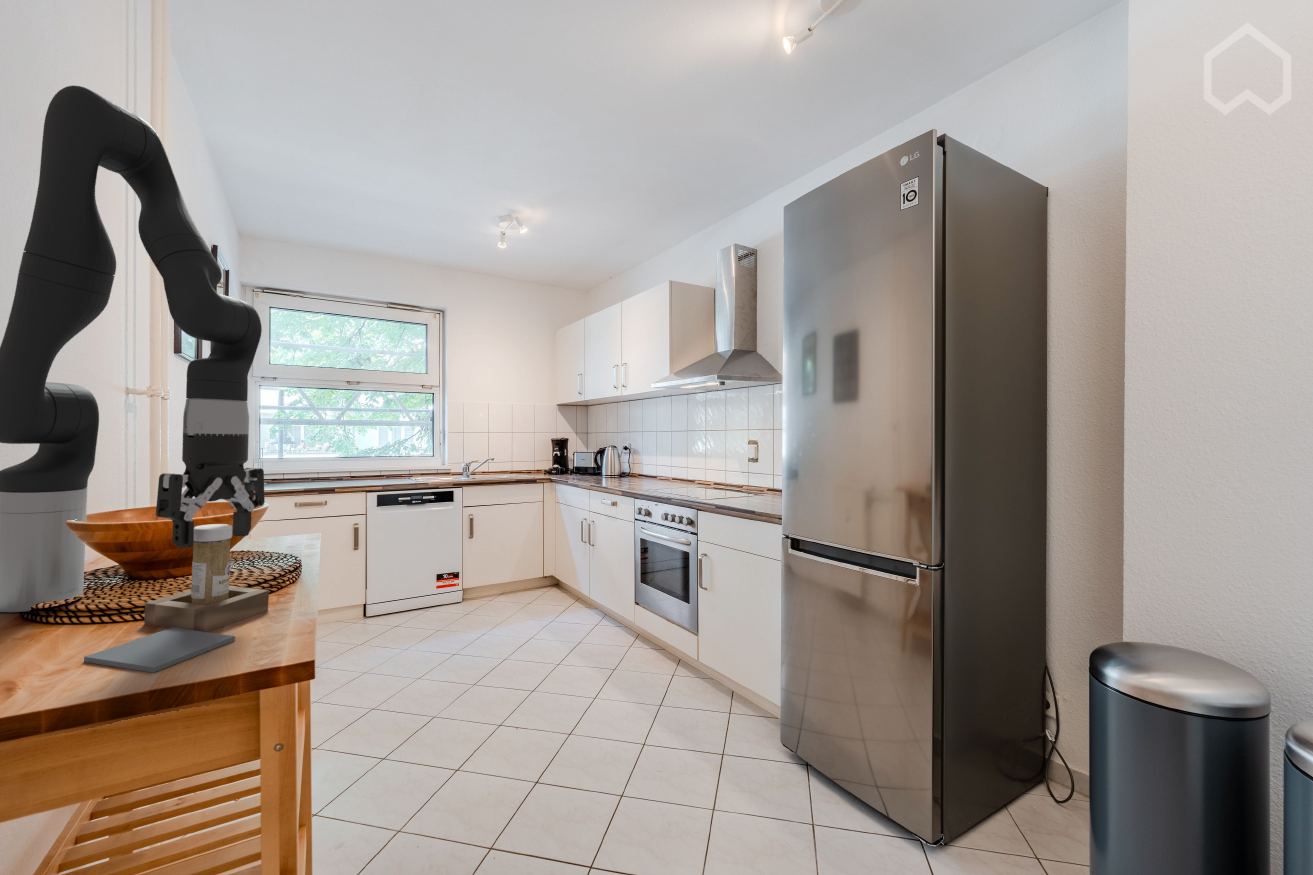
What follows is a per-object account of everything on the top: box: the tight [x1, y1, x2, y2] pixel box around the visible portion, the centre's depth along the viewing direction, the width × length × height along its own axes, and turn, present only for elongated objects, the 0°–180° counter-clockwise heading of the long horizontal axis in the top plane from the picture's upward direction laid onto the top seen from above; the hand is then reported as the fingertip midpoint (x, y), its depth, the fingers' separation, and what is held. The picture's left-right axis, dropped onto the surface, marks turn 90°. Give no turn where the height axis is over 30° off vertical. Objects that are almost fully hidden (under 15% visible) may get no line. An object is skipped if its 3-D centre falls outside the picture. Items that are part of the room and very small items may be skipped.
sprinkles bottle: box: [190, 523, 233, 605], centre depth 80 cm, size 5×5×13 cm
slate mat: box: [83, 627, 236, 674], centre depth 69 cm, size 10×10×1 cm
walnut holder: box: [143, 585, 270, 632], centre depth 81 cm, size 10×10×3 cm
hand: (213, 541), depth 80 cm, fingers open, 8 cm apart
